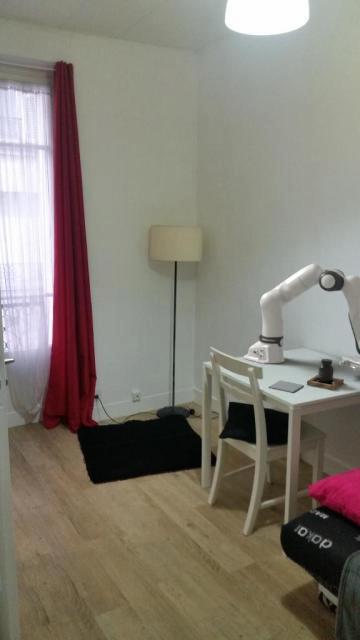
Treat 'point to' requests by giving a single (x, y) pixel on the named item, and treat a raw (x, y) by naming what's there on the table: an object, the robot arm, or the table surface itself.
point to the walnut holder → (336, 384)
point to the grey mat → (286, 386)
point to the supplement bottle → (326, 372)
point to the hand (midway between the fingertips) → (346, 366)
